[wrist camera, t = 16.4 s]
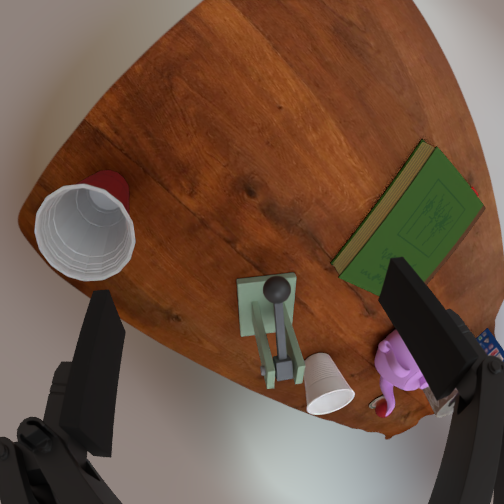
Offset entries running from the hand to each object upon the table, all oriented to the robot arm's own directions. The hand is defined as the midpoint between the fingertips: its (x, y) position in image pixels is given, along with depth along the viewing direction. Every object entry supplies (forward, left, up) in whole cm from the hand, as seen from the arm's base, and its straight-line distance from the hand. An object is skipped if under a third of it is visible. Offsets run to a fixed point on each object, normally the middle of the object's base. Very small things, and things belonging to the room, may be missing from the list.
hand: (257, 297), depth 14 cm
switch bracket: (0, -27, -27) cm, 38 cm away
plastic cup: (-15, -1, -27) cm, 31 cm away
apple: (+26, -84, -27) cm, 92 cm away
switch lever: (+1, -23, -18) cm, 29 cm away
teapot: (+27, -54, -27) cm, 66 cm away
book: (+27, -20, -27) cm, 43 cm away
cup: (+7, -48, -27) cm, 55 cm away
